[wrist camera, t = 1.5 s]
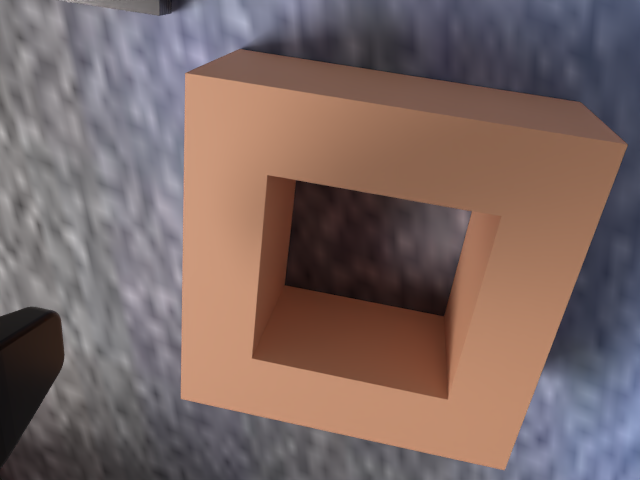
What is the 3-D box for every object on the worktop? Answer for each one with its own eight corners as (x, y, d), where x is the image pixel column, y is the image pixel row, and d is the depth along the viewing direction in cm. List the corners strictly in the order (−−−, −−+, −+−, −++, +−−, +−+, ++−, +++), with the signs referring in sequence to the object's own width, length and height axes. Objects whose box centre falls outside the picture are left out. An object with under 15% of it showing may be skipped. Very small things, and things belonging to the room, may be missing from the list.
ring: (580, 102, 11) (628, 144, 9) (490, 377, 14) (504, 470, 12) (239, 48, 12) (185, 73, 9) (224, 322, 15) (180, 398, 12)
